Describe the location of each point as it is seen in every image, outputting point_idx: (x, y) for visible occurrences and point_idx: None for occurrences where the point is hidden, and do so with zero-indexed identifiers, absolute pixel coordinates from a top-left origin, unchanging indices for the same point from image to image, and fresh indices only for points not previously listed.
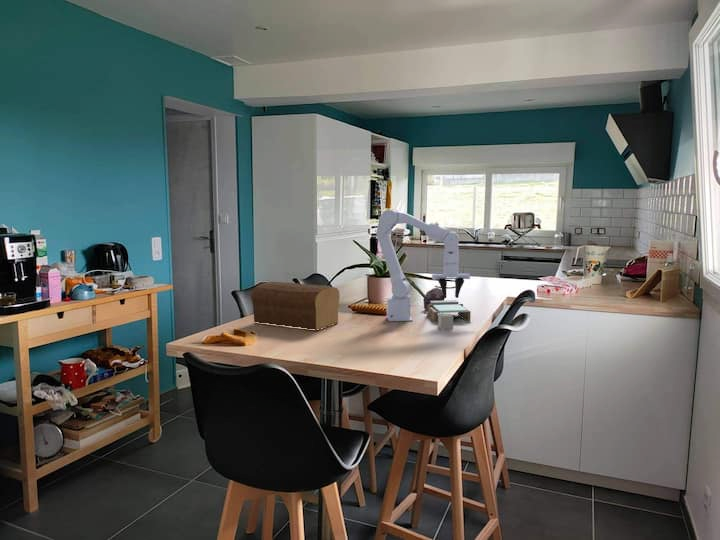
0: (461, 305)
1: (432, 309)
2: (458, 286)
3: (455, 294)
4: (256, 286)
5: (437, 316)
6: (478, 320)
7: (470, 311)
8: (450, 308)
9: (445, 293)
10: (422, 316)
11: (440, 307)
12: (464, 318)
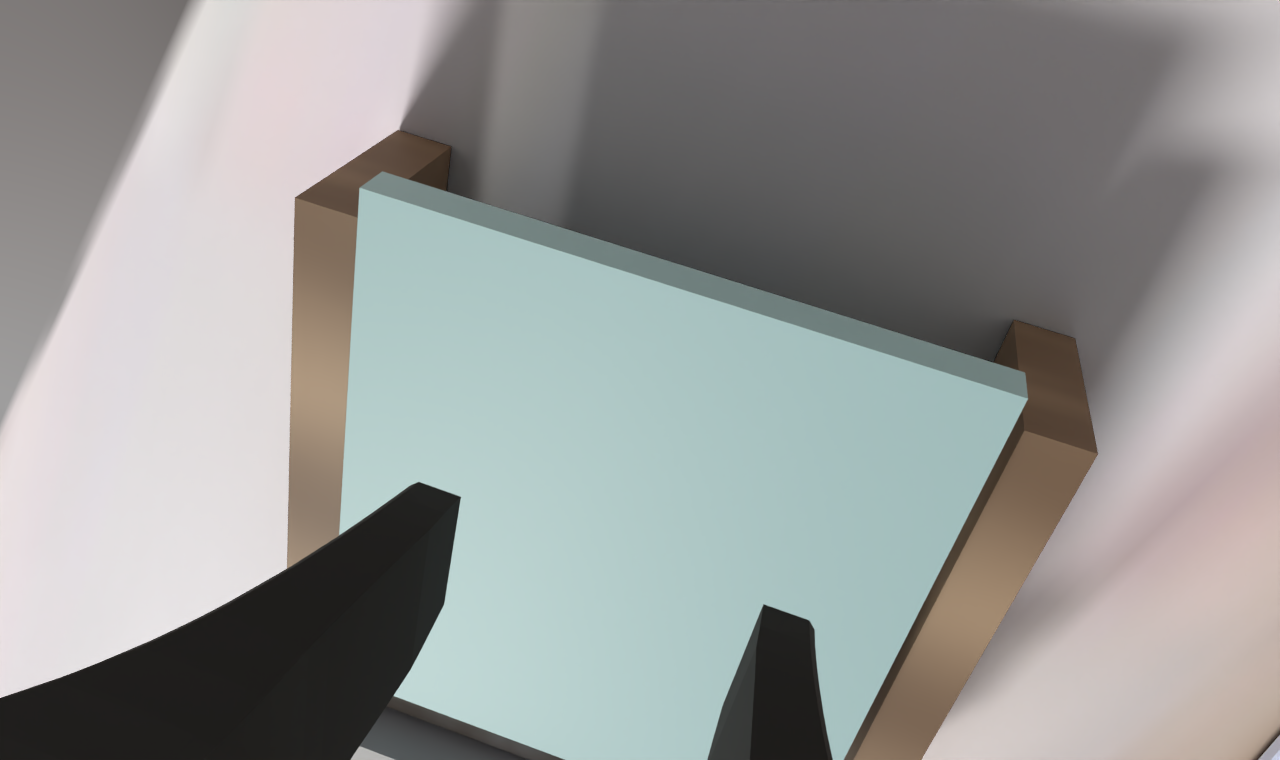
0: None
1: (943, 679)
2: (209, 715)
3: (411, 647)
4: None
5: None
6: (238, 150)
7: (297, 196)
8: (639, 480)
9: (783, 713)
10: (965, 755)
11: None
12: None
